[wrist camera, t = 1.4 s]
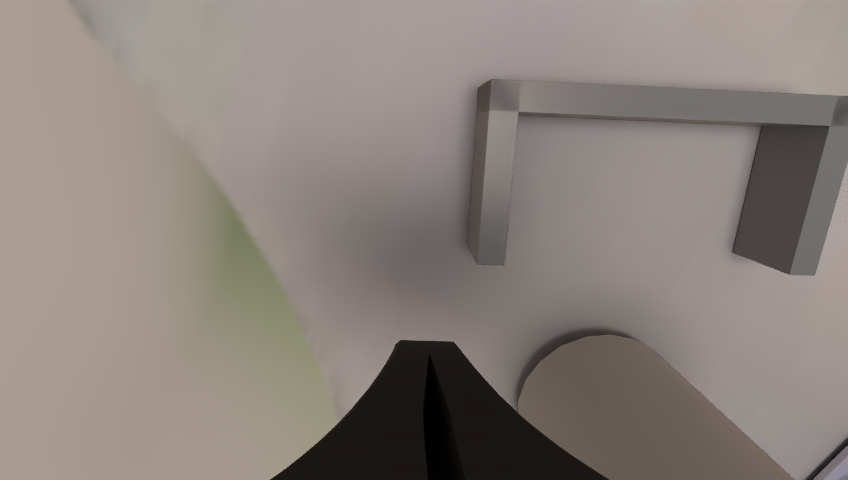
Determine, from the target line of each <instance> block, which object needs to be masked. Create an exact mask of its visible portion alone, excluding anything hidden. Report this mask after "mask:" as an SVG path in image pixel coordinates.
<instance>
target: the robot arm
mask: <svg viewBox="0 0 848 480" xmlns="http://www.w3.org/2000/svg"><path fill="white" fill-rule="evenodd" d="M271 480H609V479H608V478H606V477H604V476H603V475H601V474H600V473H598V472H597V471H595V470H594V469H592V468H591V467H589V466H588V465H586V464H585V463H583V462H581V461H580V460H578V459H577V458H575V457H574V456H572V455H571V454H570V453H568V452H567V451H565V450H564V449H562V448H561V447H560V446H558V445H557V444H556V443H554V442H553V441H552V440H550V439H549V438H548V437H547V436H545V435H544V434H543V433H542V432H540V431H539V430H538V429H536V428H535V427H534V426H533V425H531V424H530V423H529V422H528V421H527V420H525V419H524V418H523V417H522V416H521V415H520V414H519V413H518V412H516V411H515V410H514V409H513V408H512V407H511V406H510V405H509V404H508V403H507V402H506V401H505V400H504V399H503V398H502V397H501V396H500V395H499V394H498V393H497V392H496V391H495V390H494V389H493V388H492V387H491V386H490V385H489V384H488V382H487V381H486V380H485V379H484V378H483V377H482V376H481V375H480V373H479V372H478V371H477V370H476V369H475V368H474V366H473V365H472V364H471V363H470V361H469V360H468V359H467V358H466V356H465V355H464V354H463V353H462V351H461V350H460V349H459V348H458V346H457V345H456V344H455V343H454V342H445V341H411V340H400V341H399V342H398V343H397V344H396V345H395V347H394V350H393V352H392V354H391V356H390V358H389V359H388V361H387V363H386V364H385V366H384V367H383V369H382V370H381V372H380V373H379V375H378V376H377V378H376V379H375V380H374V382H373V383H372V385H371V386H370V387H369V389H368V390H367V391H366V392H365V393H364V395H363V396H362V397H361V398H360V399H359V401H358V402H357V403H356V404H355V405H354V407H353V408H352V409H351V410H350V411H349V412H348V413H347V414H346V416H345V417H344V418H343V419H342V420H341V421H340V422H339V423H338V424H337V425H336V426H335V427H334V428H333V429H332V430H331V431H330V432H329V433H328V434H327V435H326V436H324V437H323V438H322V439H321V440H320V441H319V442H318V443H317V444H315V445H314V446H313V447H312V448H311V449H309V451H307V452H306V453H305V454H304V455H303V456H301V457H300V458H299V459H297V460H296V461H295V462H294V463H292V464H291V465H290V466H289V467H287V468H286V469H285V470H283V471H282V472H281V473H279V474H278V475H276V476H275V477H273V478H272V479H271ZM813 480H848V445H847V446H846V447H845V448H844V449H843V450H842V451H841V452H840V453H839V454H838V455H837V456H836V457H835V458H834V459H833V460H832V461H831V462H830V463H829V464H828V465H827V466H826V467H825V468H824V469H823V470H822V471H821V472H820V473H819V474H818V475H817V476H816V477H815V478H814V479H813Z"/></svg>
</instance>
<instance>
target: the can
mask: <svg viewBox="0 0 848 480" xmlns="http://www.w3.org/2000/svg"><path fill="white" fill-rule="evenodd" d="M518 413H519V414H520V415H521V416H522V417H523V418H524V419H525V420H527V421H528V422H529V423H530V424H531V425H533V426H534V427H535V428H536V429H538V430H539V431H540V432H542V433H543V434H544V435H545V436H547V437H548V438H549V439H550V440H552V441H553V442H554V443H556V444H557V445H558V446H560V447H561V448H562V449H564V450H565V451H567V452H568V453H570V454H571V455H572V456H574V457H575V458H577V459H578V460H580V461H581V462H583V463H585V464H586V465H588V466H589V467H591V468H592V469H594V470H595V471H597V472H598V473H600V474H601V475H603V476H604V477H606V478H608V479H609V480H795V479H794V478H792V477H791V476H790V475H789V474H788V473H787V472H786V471H785V470H784V469H783V468H782V467H781V466H779V465H778V464H777V463H776V462H775V461H774V460H773V459H772V458H771V457H770V456H769V455H767V454H766V453H765V452H764V451H763V450H762V449H761V448H760V447H759V446H758V445H757V444H756V443H754V442H753V441H752V440H751V439H750V438H749V437H748V436H747V435H746V434H745V433H744V432H742V431H741V430H740V429H739V428H738V427H737V426H736V425H735V424H734V423H733V422H732V421H731V420H729V419H728V418H727V417H726V416H725V415H724V414H723V413H722V412H721V411H720V410H719V409H717V408H716V407H715V406H714V405H713V404H712V403H711V402H710V401H709V400H708V399H707V398H706V397H704V396H703V395H702V394H701V393H700V392H699V391H698V390H697V389H696V388H695V387H694V386H692V385H691V384H690V383H689V382H688V381H687V380H686V379H685V378H684V377H683V376H682V375H681V374H679V373H678V372H677V371H676V370H675V369H674V368H673V367H672V366H671V365H670V364H669V363H667V362H666V361H665V360H664V359H663V358H662V357H661V356H660V355H659V354H658V353H657V352H655V351H654V350H652V349H650V348H649V347H647V346H645V345H644V344H642V343H640V342H639V341H637V340H634V339H630V338H625V337H621V336H616V335H599V336H586V337H583V338H580V339H578V340H575V341H572V342H570V343H567V344H564V345H562V346H560V347H559V348H557V349H556V350H554V351H553V352H552V353H550V354H549V355H548V356H546V357H545V358H544V359H542V360H541V361H540V362H539V363H538V364H537V366H536V367H535V368H534V370H533V371H532V372H531V374H530V375H529V376H528V378H527V379H526V380H525V383H524V385H523V388H522V391H521V394H520V397H519V400H518Z"/></svg>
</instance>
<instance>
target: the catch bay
mask: <svg viewBox="0 0 848 480" xmlns="http://www.w3.org/2000/svg"><path fill="white" fill-rule="evenodd" d="M518 115H526V116H549V117H571V118H593V119H615V120H637V121H659V122H681V123H703V124H725V125H747V126H762V129H761V134H760V138H759V142H758V146H757V151H756V155H755V159H754V164H753V168H752V172H751V176H750V181H749V185H748V189H747V194H746V198H745V202H744V206H743V211H742V215H741V219H740V223H739V228H738V232H737V236H736V241H735V245H734V249H733V253H735V254H738V255H740V256H743V257H745V258H748V259H751V260H753V261H756V262H758V263H761V264H763V265H766V266H769V267H771V268H774V269H776V270H779V271H781V272H784V273H787V274H789V275H815V273H816V270H817V266H818V263H819V259H820V256H821V252H822V249H823V245H824V242H825V238H826V235H827V231H828V228H829V225H830V221H831V218H832V214H833V211H834V207H835V204H836V200H837V197H838V193H839V190H840V186H841V183H842V179H843V176H844V172H845V169H846V166H847V162H848V96H833V95H812V94H791V93H771V92H750V91H729V90H708V89H688V88H667V87H646V86H626V85H605V84H584V83H563V82H543V81H522V80H501V79H491V80H489V81H488V82H486V83H484V84H483V85H481V86H480V87H478V99H477V113H476V127H475V142H474V156H473V170H472V184H471V198H470V213H469V227H468V241H467V244H468V246H469V248H470V250H471V252H472V254H473V256H474V259H475V261H476V263H477V265H504V260H505V250H506V239H507V229H508V218H509V207H510V197H511V186H512V175H513V165H514V154H515V144H516V133H517V122H518Z"/></svg>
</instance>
